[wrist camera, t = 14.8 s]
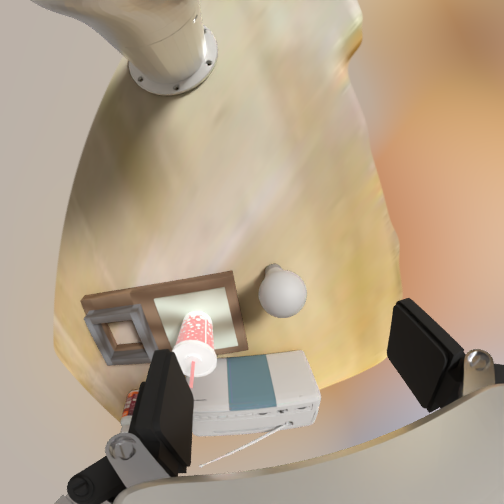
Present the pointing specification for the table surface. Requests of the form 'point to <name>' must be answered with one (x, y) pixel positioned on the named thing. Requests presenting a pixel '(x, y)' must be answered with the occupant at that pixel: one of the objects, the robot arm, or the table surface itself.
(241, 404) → the stereo radio cassette player
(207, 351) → the beverage cup
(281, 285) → the lightbulb
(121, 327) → the table surface
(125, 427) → the pill bottle
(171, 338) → the socket board
